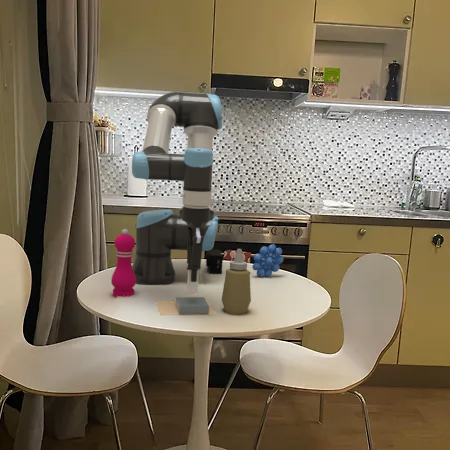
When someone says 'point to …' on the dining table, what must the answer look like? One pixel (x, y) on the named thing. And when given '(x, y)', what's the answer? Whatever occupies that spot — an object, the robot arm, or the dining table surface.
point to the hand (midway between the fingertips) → (192, 292)
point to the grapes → (267, 260)
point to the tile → (192, 305)
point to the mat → (174, 308)
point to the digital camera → (214, 261)
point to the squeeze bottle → (237, 286)
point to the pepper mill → (124, 266)
